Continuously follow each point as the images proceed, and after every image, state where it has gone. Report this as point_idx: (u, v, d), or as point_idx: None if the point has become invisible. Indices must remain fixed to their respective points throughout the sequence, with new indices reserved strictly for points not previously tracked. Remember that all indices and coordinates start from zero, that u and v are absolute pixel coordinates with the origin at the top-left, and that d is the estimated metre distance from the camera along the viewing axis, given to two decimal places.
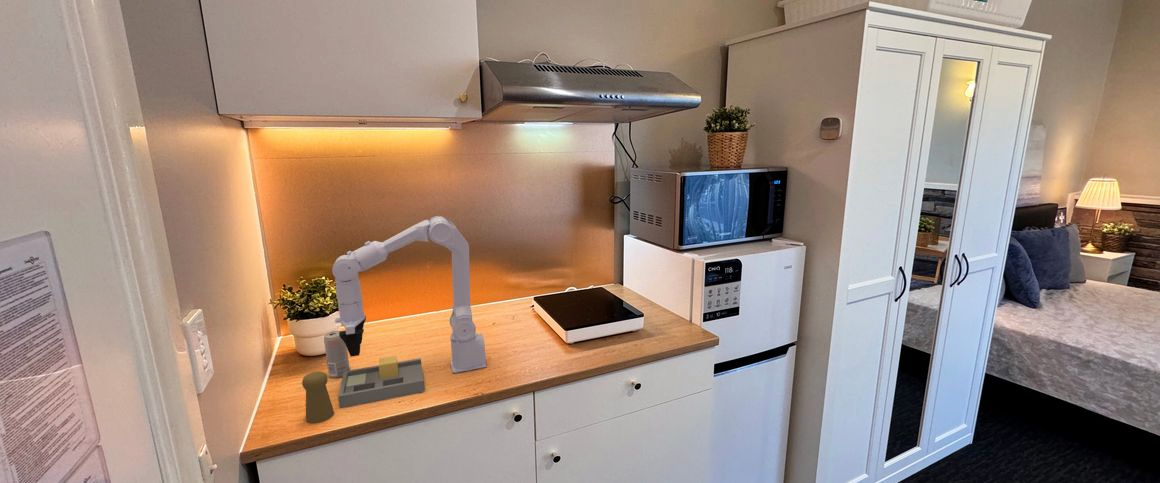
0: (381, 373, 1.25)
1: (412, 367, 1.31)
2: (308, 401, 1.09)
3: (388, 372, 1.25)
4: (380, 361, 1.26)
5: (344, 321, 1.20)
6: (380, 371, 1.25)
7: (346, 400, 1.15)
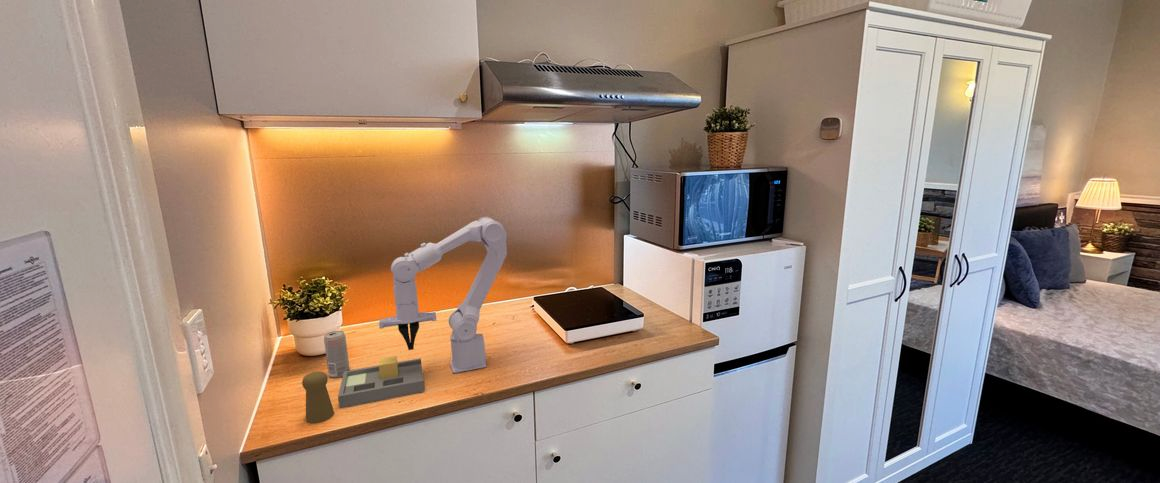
0: (381, 373, 1.25)
1: (412, 367, 1.31)
2: (308, 401, 1.09)
3: (388, 372, 1.25)
4: (380, 361, 1.26)
5: None
6: (380, 371, 1.25)
7: (346, 400, 1.15)
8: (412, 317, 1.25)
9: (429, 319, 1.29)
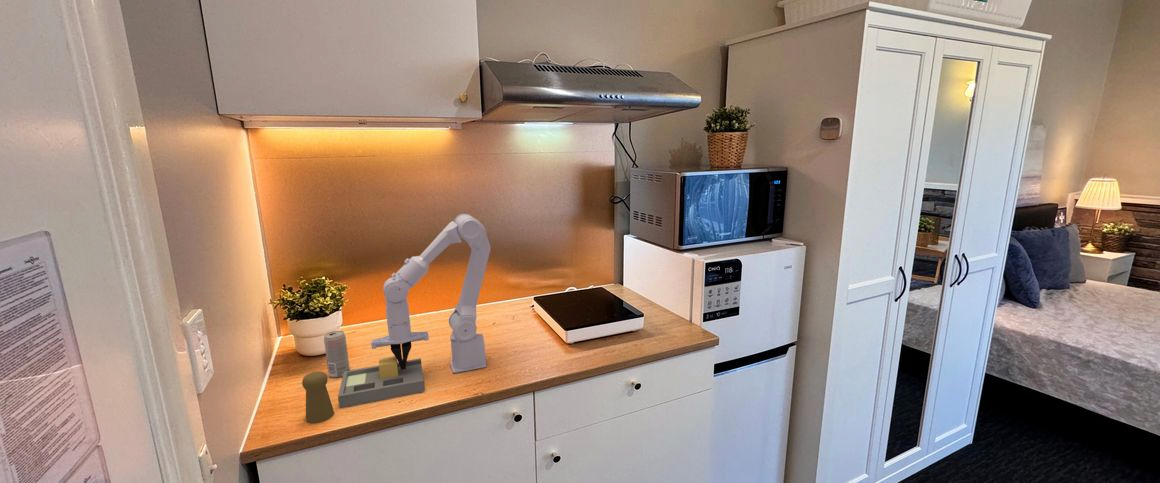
0: (381, 373, 1.25)
1: (412, 367, 1.31)
2: (308, 401, 1.09)
3: (388, 372, 1.25)
4: (380, 361, 1.26)
5: None
6: (380, 371, 1.25)
7: (346, 400, 1.15)
8: (404, 337, 1.25)
9: (421, 338, 1.29)
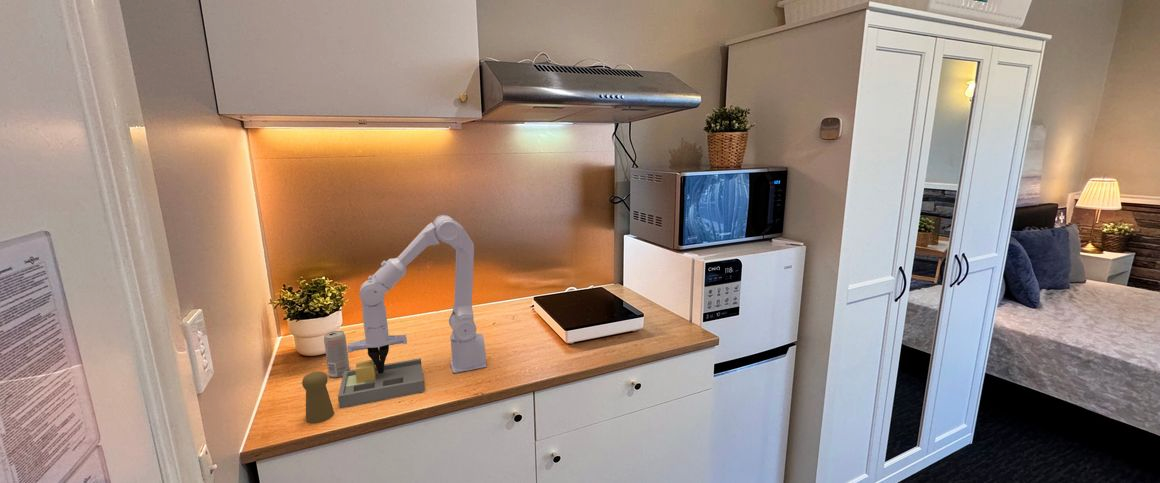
0: (358, 377, 1.23)
1: (412, 367, 1.31)
2: (308, 401, 1.09)
3: (365, 377, 1.23)
4: (357, 365, 1.24)
5: None
6: (357, 375, 1.22)
7: (346, 400, 1.15)
8: (381, 341, 1.23)
9: (399, 342, 1.27)
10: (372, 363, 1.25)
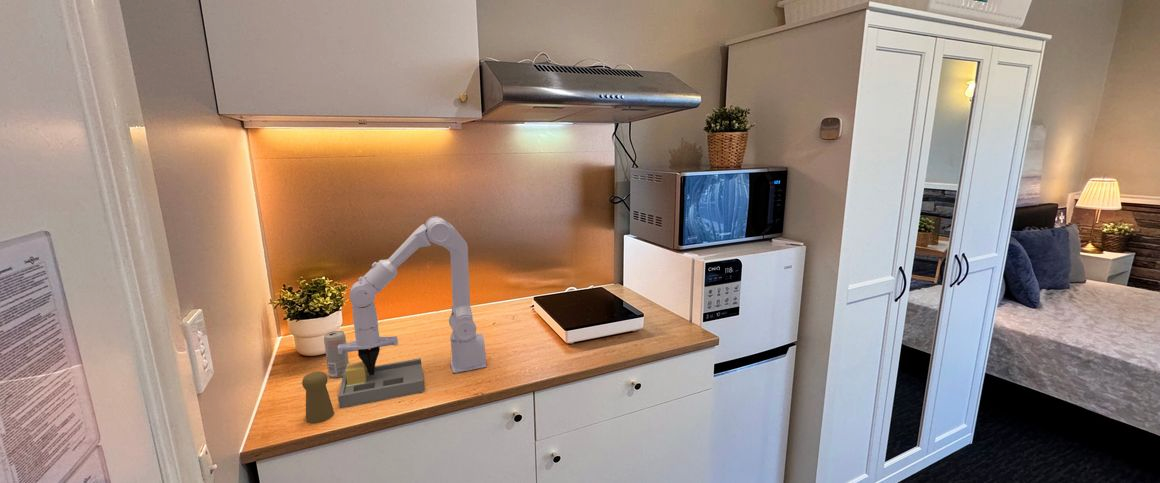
0: (348, 379, 1.22)
1: (412, 367, 1.31)
2: (308, 401, 1.09)
3: (355, 378, 1.22)
4: (347, 367, 1.23)
5: None
6: (347, 377, 1.22)
7: (346, 400, 1.15)
8: (372, 342, 1.22)
9: (390, 343, 1.26)
10: (363, 365, 1.24)
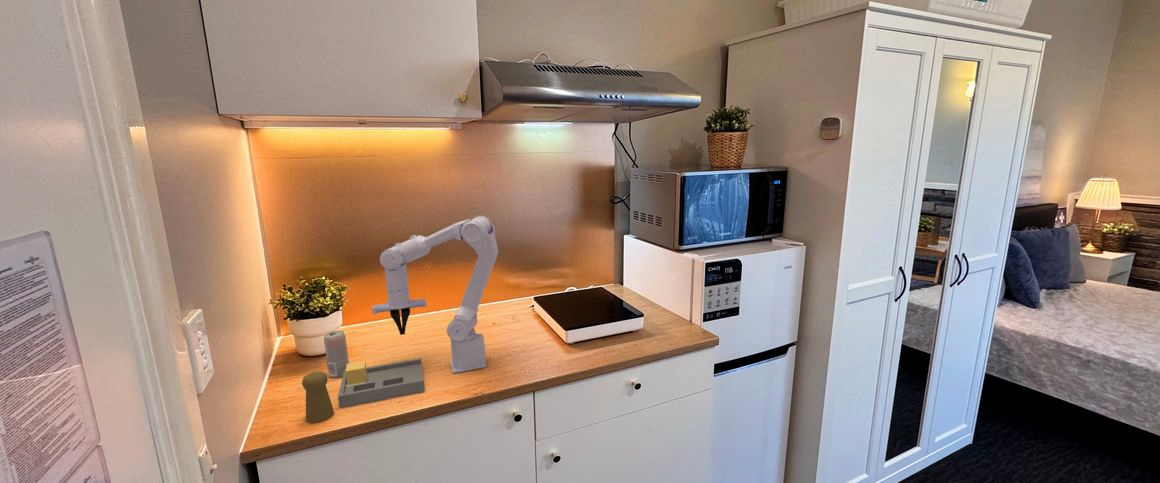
0: (348, 379, 1.22)
1: (412, 367, 1.31)
2: (308, 401, 1.09)
3: (355, 378, 1.22)
4: (347, 367, 1.23)
5: None
6: (347, 377, 1.22)
7: (346, 400, 1.15)
8: (403, 303, 1.31)
9: (420, 305, 1.35)
10: (363, 365, 1.24)
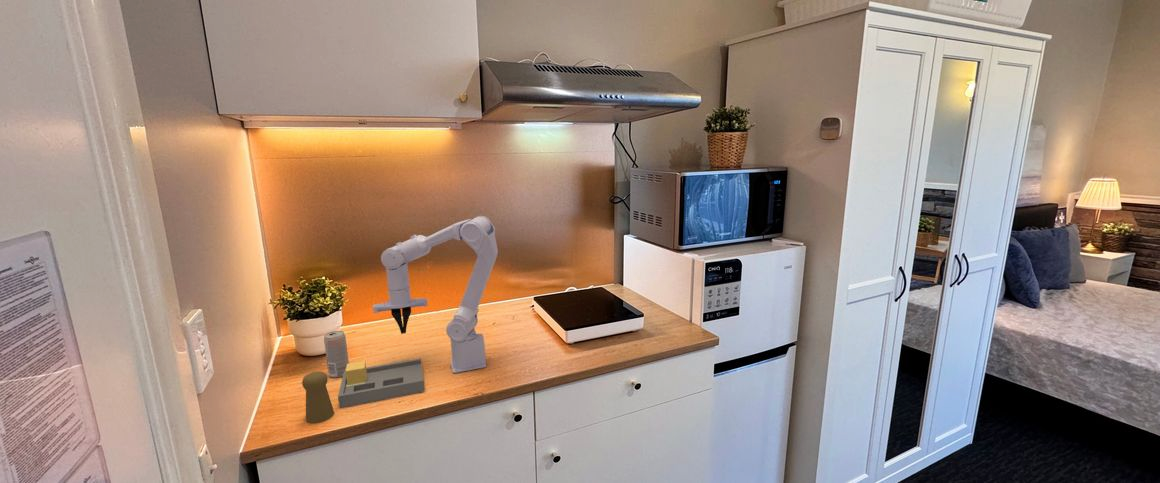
0: (348, 379, 1.22)
1: (412, 367, 1.31)
2: (308, 401, 1.09)
3: (355, 378, 1.22)
4: (347, 367, 1.23)
5: None
6: (347, 377, 1.22)
7: (346, 400, 1.15)
8: (404, 302, 1.32)
9: (421, 304, 1.36)
10: (363, 365, 1.24)
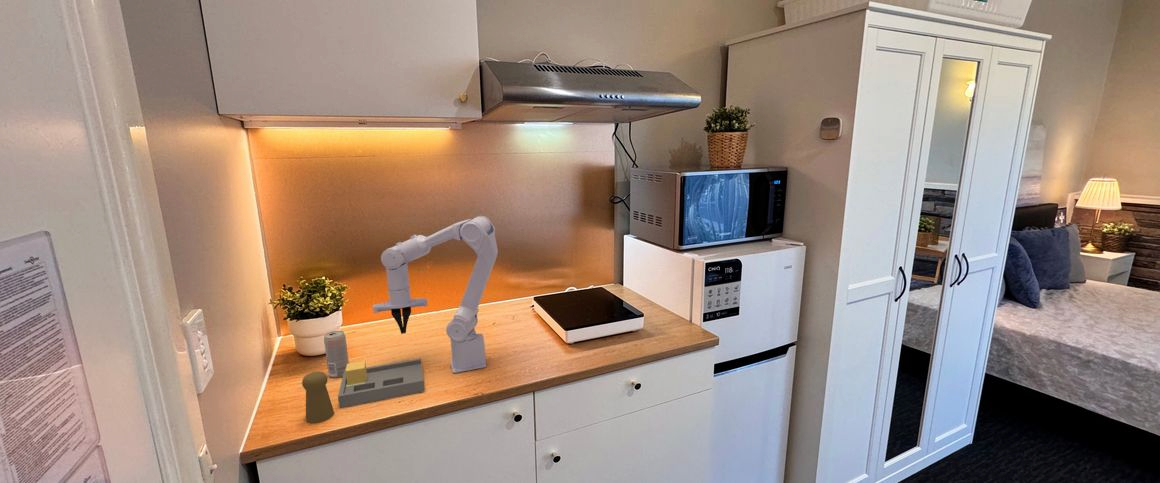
0: (348, 379, 1.22)
1: (412, 367, 1.31)
2: (308, 401, 1.09)
3: (355, 378, 1.22)
4: (347, 367, 1.23)
5: None
6: (347, 377, 1.22)
7: (346, 400, 1.15)
8: (404, 302, 1.32)
9: (421, 304, 1.36)
10: (363, 365, 1.24)
